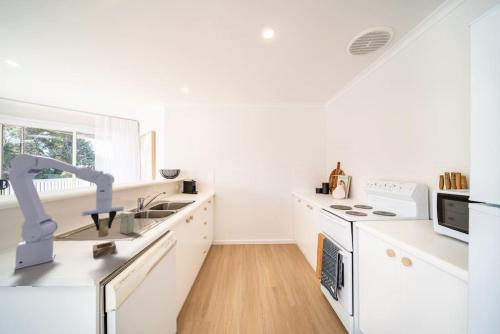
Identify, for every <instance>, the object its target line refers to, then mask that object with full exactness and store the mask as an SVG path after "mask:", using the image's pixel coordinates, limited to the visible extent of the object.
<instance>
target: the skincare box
mask: <svg viewBox="0 0 500 334" xmlns="http://www.w3.org/2000/svg"><path fill="white" fill-rule="evenodd" d="M119 220H120V222H119V223H120V224H119V225H120V226H119V233H120V234H125V235H128V234H130V233H134V230H135V229H134V228H135V225H134V224H135V211H127V210H126V211H121V212H120V219H119Z"/></svg>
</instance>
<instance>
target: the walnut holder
mask: <svg viewBox="0 0 500 334" xmlns="http://www.w3.org/2000/svg"><path fill="white" fill-rule="evenodd" d="M116 252H117V244H116V242H115V240H112V241H107V242H102V243H97V244H93V245H92V254H93V255H92V256H93V258H98V257H102V256H106V255H109V254H113V253H116Z"/></svg>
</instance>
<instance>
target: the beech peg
mask: <svg viewBox="0 0 500 334" xmlns="http://www.w3.org/2000/svg"><path fill="white" fill-rule="evenodd" d="M98 225H99V230H98V231H97V232H98V234H97V236H98V238H104V237H105V238H106V237H107V236H109V229H110V228H109V216H105V217H104V216H103V217H99V220H98Z"/></svg>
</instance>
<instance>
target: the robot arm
mask: <svg viewBox="0 0 500 334" xmlns="http://www.w3.org/2000/svg"><path fill="white" fill-rule="evenodd" d="M9 164H10V170H9V173H8V180H9V182H10V185H11V188H12V190H13V193H14V195H15V198H16V200H17V202H18V206H19V207H20V211H21V212H22V215H23V217H24V221H23V222H22V224H21V225H20V227H21V235H20V236H21V239H22V240H23V241H22V242H18V243H17V246H16V249H15V265H14V270H18V269H21V268H27V267H31V266H35V265H40V264H45V263H48V262H53V261H54V258H55V256H56V252H54V236H55V235H54V233H55V232H56V231H57V229H58V228H59V225H58V223H57V221H55V220H54V219H53V217H52V216H51V215H50V214H47V213H46V211H45V207H44V206H43V204H42V203H43V202H42V201H41V198H40V196H39V193H38V190H37V188H36V185H35V183H34V180H33V178H35V177H36V176H37V174H40V173H41V172H43V171H45V170H47V169H56V170H60V171H63V172H65V173H69V174H70V173H71V174H73V175H75V177H76V178H77V179H79V180H82V181H85V182H89V183H91V184H94V185H95V186H96V190H95V191H96V193H95V195H96V196H95V197H96V198H95V209H89V210H82V211H81V214H82V215H81V217H85V216H90V217H91V219H92V221H93V223H94V225H95V229H96V231H97V232H98V230H99V218H100V217H99V214H100V215H101V214H107V213H108V217H109V229H111V228H112V223H113V222H114V219H115V217H116V216H117V214H118V213H117V212H125V211H124V208H125V207H124V206H113V183H114V182H115V177H114V176H113V175H112V174H111V173H110V172H109V173H104V171H103V170H96V169H94V168H93V167H92V166H89V165H88V166H82V167H79V166H76V165H73V164H71V163H67V162H64V161H62V160H60V159H56V158H53V157H49V156H45V155H35V154H29V153H19V154H17V155H15V156H14V157H13V158H12V159H11V160H10V161H9Z"/></svg>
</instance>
